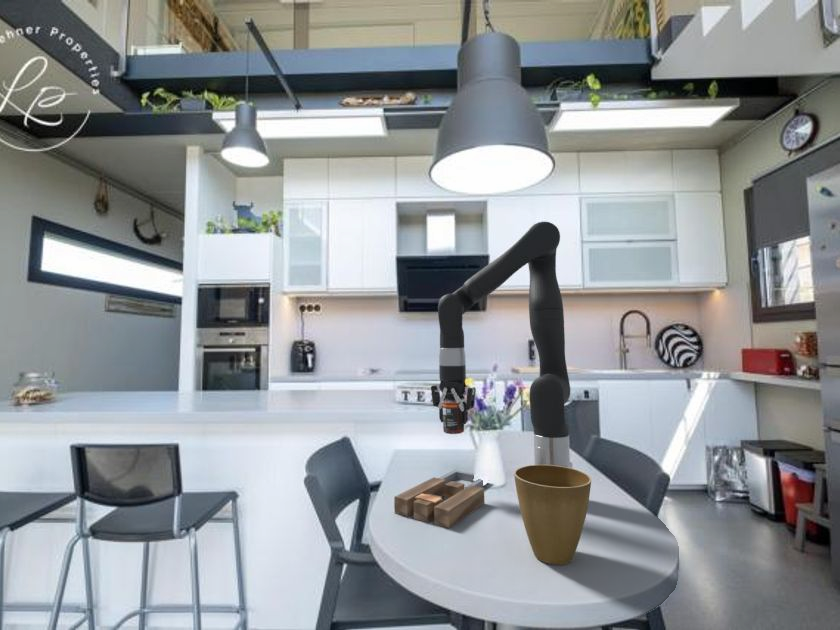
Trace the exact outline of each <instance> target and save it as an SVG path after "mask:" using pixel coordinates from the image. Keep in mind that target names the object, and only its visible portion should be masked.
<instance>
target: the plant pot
mask: <svg viewBox="0 0 840 630" xmlns="http://www.w3.org/2000/svg"><path fill="white" fill-rule="evenodd" d="M572 468H573V467H572ZM572 468H568V467H562V466H555V465H535V464H530V465H524V466H521V467H519V468H516V469H515V470H514V472H513V475H514V476H513V477H514V481H515V489H516V490H515V491H516V495H517V500H518V505H519V511H520V514H521V518H522V522H523V525H524V529H525V532H526V535H527V538H528V541H529V544H530V547H531V549H532V553H533V555H534V557H535V558H536V559H537V560H539V561H541V562H543V563H545V564H548V565H553V566H562V565H568V564H569V563H571V562H572V561H573V559H574V557H575V554H576V551H577V549H578V546H579V542H580V540H581V536H582V535H583V534H582V533H583V529H584V525H585V521H586V518H587V512H588V508H589V501H590V493H591V486H592V478H591V476H590V475H589V474H587V473H585V472H583V471H582V470H578V469H575V468H573V469H572Z"/></svg>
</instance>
